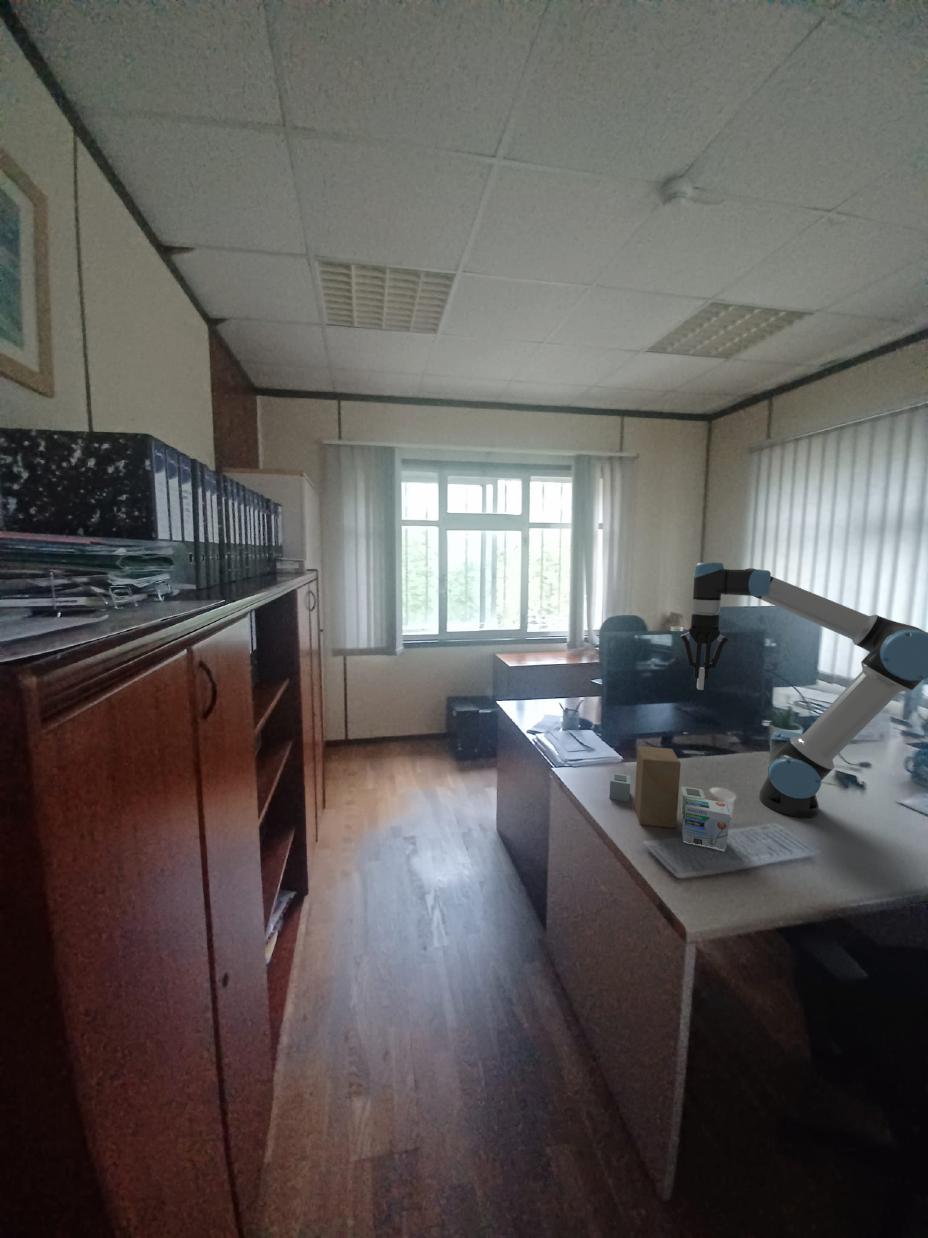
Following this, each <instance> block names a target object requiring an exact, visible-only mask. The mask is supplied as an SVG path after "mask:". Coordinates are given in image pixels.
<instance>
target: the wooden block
mask: <svg viewBox="0 0 928 1238" xmlns="http://www.w3.org/2000/svg"><path fill="white" fill-rule="evenodd" d="M636 753H637V754H636V769H635V771H636V773H635V789H634V803H633V804H634V805H633V807H634V809H635V813H636V816H637V819H638V823H639V825H642V826H650V827H651V826H653V827H661V828H669V829H676V828H677V819H678V808H679V807H678V804H679V788H680V776H681V761H680V760H679V758H678V756H677V754H676V753H675V752H674V749H673V748H667V747H655V746H653V747H652V746H645V745H644V746H640V745H638V746H637V752H636Z"/></svg>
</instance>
